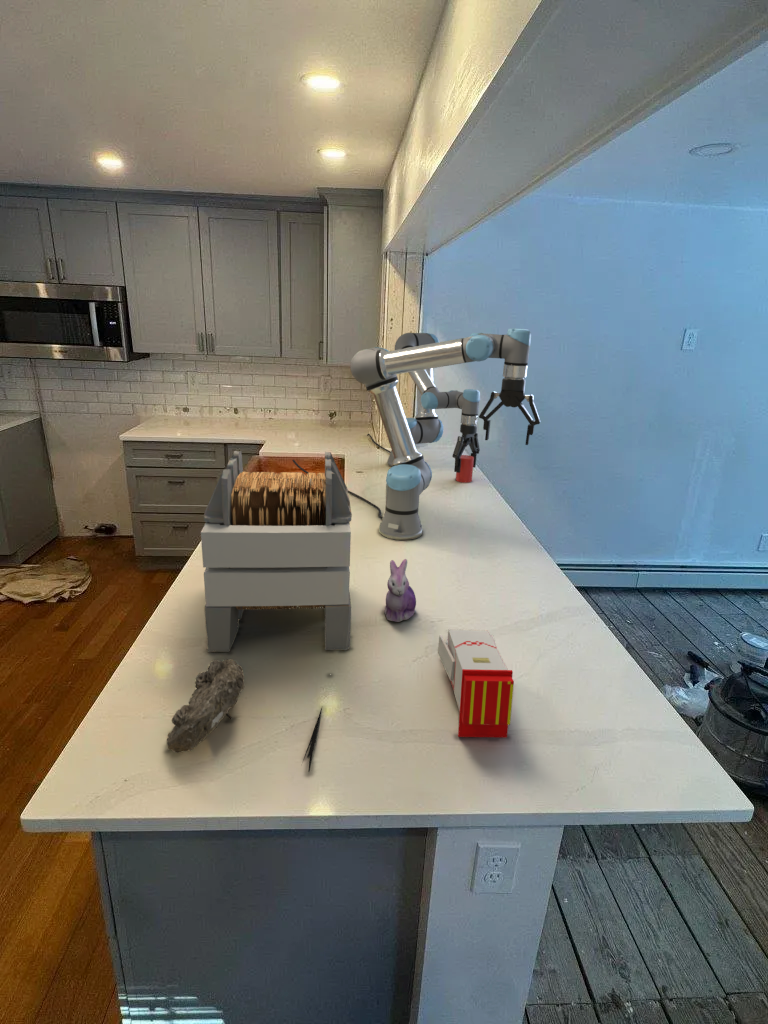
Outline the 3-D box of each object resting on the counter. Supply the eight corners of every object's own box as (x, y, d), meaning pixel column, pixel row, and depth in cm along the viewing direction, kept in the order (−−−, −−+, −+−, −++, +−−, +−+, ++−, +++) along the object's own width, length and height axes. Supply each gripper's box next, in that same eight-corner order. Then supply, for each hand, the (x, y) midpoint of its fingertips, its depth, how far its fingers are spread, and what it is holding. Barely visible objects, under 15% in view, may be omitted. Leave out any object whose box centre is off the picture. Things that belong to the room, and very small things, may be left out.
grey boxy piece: (227, 584, 158) (219, 441, 145) (344, 583, 162) (347, 443, 148) (205, 654, 127) (191, 480, 113) (351, 650, 130) (355, 481, 117)
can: (460, 483, 262) (463, 459, 258) (452, 478, 268) (454, 455, 265) (474, 482, 265) (477, 458, 261) (466, 477, 271) (468, 454, 268)
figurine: (392, 627, 141) (395, 572, 136) (374, 608, 149) (376, 556, 144) (425, 619, 145) (429, 566, 140) (405, 601, 154) (408, 550, 149)
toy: (488, 613, 130) (523, 677, 101) (484, 667, 133) (517, 744, 104) (435, 612, 130) (455, 676, 101) (432, 666, 133) (451, 743, 103)
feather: (331, 679, 122) (336, 673, 122) (307, 777, 96) (313, 769, 95) (324, 675, 122) (329, 669, 121) (298, 772, 95) (304, 764, 95)
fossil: (192, 660, 117) (244, 628, 112) (224, 691, 120) (276, 661, 115) (142, 746, 98) (202, 712, 93) (182, 779, 101) (242, 748, 96)
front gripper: (554, 380, 185) (545, 443, 193) (478, 374, 193) (472, 435, 200) (552, 382, 179) (543, 448, 186) (474, 376, 186) (468, 439, 194)
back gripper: (461, 428, 246) (457, 476, 253) (489, 422, 265) (485, 466, 272) (446, 426, 251) (443, 472, 258) (475, 420, 269) (471, 463, 276)
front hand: (506, 441), depth 193 cm, fingers open, 13 cm apart
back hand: (464, 469), depth 265 cm, fingers open, 13 cm apart
